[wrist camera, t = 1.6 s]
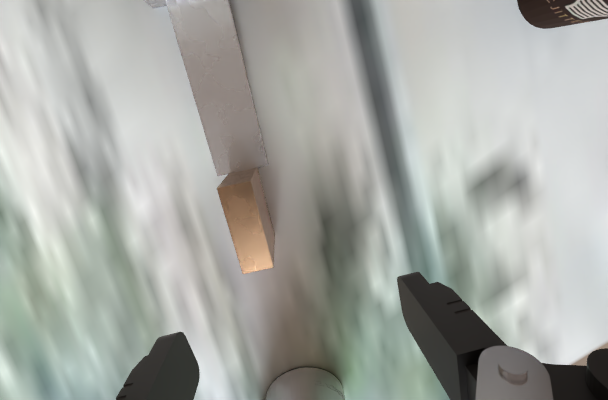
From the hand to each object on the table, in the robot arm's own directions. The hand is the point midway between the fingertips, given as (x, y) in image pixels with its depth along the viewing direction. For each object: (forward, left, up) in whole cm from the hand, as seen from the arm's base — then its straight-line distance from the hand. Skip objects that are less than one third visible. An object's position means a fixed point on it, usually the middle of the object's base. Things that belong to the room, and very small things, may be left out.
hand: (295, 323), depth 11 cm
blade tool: (+2, +7, -17) cm, 19 cm away
